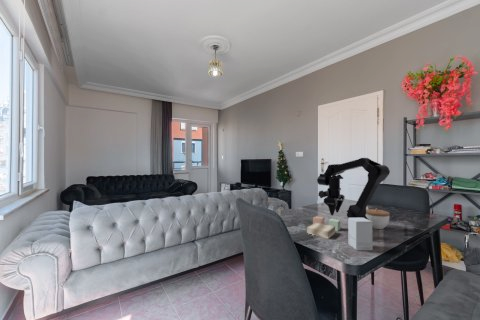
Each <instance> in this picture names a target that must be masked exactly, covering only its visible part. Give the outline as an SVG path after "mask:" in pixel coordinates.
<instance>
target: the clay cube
mask: <svg viewBox="0 0 480 320" xmlns="http://www.w3.org/2000/svg"><path fill="white" fill-rule="evenodd" d="M314 223H319V224H324V225H325V216H317V215H316V216H314V217H312V224H314Z"/></svg>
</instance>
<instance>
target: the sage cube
mask: <svg viewBox="0 0 480 320" xmlns="http://www.w3.org/2000/svg"><path fill="white" fill-rule="evenodd" d="M328 225H330V226H335V232H336V231H337V232H338V231H340V230H341V219H335V218H330V219H329V220H328Z"/></svg>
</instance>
